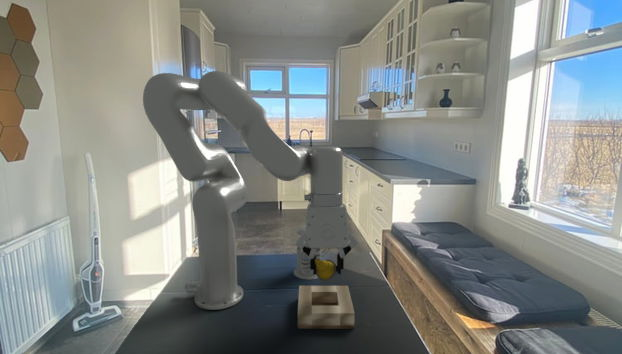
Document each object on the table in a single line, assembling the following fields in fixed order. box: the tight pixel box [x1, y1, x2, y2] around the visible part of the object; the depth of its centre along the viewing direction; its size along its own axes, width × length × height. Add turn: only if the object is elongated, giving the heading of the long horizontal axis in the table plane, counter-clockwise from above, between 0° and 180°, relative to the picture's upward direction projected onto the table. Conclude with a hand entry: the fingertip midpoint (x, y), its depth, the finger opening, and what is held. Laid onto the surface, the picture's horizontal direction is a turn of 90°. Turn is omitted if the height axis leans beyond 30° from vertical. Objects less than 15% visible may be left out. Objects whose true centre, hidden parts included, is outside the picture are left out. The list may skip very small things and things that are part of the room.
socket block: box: [297, 285, 356, 330], centre depth 82 cm, size 13×13×4 cm
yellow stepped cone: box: [315, 259, 338, 283], centre depth 80 cm, size 5×5×10 cm
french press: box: [293, 201, 329, 280], centre depth 103 cm, size 10×12×25 cm
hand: (326, 271), depth 80 cm, fingers closed on yellow stepped cone, 5 cm apart
